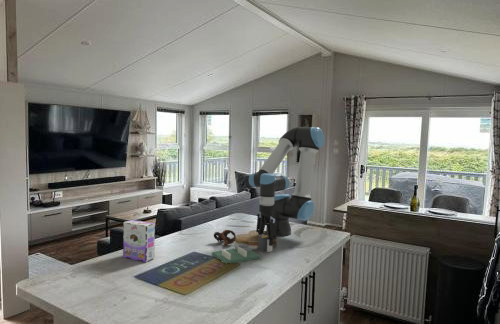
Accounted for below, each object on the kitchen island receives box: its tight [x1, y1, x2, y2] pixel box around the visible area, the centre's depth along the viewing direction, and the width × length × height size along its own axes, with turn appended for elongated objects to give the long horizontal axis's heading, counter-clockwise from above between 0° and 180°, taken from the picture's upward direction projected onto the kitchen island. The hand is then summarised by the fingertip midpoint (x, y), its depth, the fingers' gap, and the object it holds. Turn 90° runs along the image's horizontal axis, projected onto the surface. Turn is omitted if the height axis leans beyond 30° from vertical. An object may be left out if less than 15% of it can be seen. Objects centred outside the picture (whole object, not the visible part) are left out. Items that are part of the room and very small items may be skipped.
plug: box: [257, 234, 271, 253], centre depth 170 cm, size 6×4×8 cm, turn 121°
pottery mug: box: [213, 229, 237, 247], centre depth 178 cm, size 12×9×8 cm
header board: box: [212, 243, 261, 264], centre depth 160 cm, size 18×14×4 cm
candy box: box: [122, 219, 156, 263], centre depth 152 cm, size 14×6×16 cm, turn 65°
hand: (265, 249), depth 171 cm, fingers open, 7 cm apart
